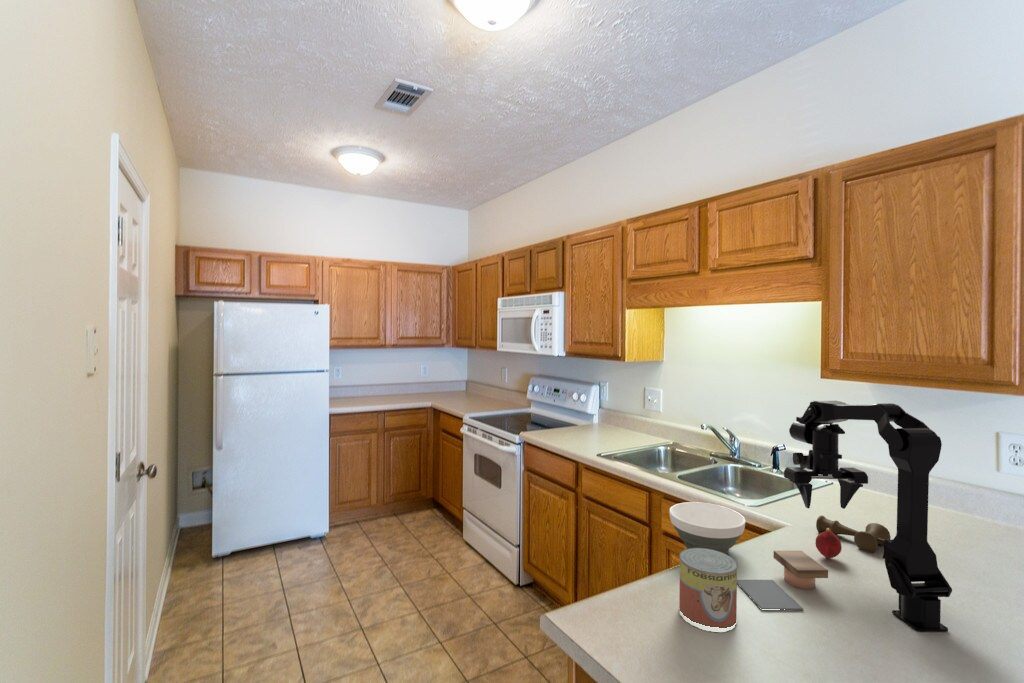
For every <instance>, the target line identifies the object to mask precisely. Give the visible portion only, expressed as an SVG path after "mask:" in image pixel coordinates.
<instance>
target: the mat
mask: <svg viewBox="0 0 1024 683" xmlns="http://www.w3.org/2000/svg"><path fill="white" fill-rule="evenodd" d="M738 585H740V586H741V588H742V589H743V590H744V591H745V592H746V593H747V594H746V593H745V592H744V591H743V590H742V589H741V588H740V589H741V590H742V591H743V592H744V593H745V594H746V596H748V595H749V596H750V597H751V598H752V600H754V602H755V603H756V604H757V605H758V606H759V607H760V608H761V609H780V610H784V609H785V610H803V611H804V607H802V606H801V605H800V604H799V603H798V602H797V601H796V600H795V599H794V598H793V597H792V596H791V595H790V594H788V593H787V592H786V591H785V589H783V588H782V587H781V586H780V585H779V584H778V583H776V581H774V580H773V579H737V586H738ZM749 596H748V597H749ZM752 600H751V601H752ZM754 602H753V603H754ZM755 603H754V604H755ZM756 604H755V605H756ZM757 605H756V606H757ZM758 606H757V607H758ZM759 607H758V608H759ZM760 608H759V609H760Z"/></svg>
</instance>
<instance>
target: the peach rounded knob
mask: <svg viewBox="0 0 1024 683" xmlns="http://www.w3.org/2000/svg"><path fill="white" fill-rule="evenodd" d="M783 580H784V581H785V582H786V583H787V584H788V585H790V586H793V587H796V588H798V589H803V590H808V589H809V590H811V589H814V588H815V587H816V578H797V577H796V576H795V575H793V574H792V573H791V572H790V571H789V570H788V569H786V568H785V567H784V566H783Z"/></svg>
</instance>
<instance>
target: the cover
mask: <svg viewBox="0 0 1024 683" xmlns="http://www.w3.org/2000/svg"><path fill="white" fill-rule="evenodd" d="M772 557H773V559H774V560H776V561H777V562H778V563H779V564H781V566H783V568H784V567H785V568H786V569H788V570H789V571H790V572H791V573H792V574H793V575H795V576H796V577H797V578H815V579H829V570H828V568H826V567H825V566H823V565H822V564H820V563H819V562H818V561H817V560H815V559H813V558H812V557H811V556H809V555H808V554H807V553H805V552H804V551H803V550H773V556H772Z"/></svg>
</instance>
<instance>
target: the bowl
mask: <svg viewBox="0 0 1024 683" xmlns="http://www.w3.org/2000/svg"><path fill="white" fill-rule="evenodd" d="M669 519H670V522H671V524H672V526H673V527H674V530H675V531H676V532H677V534H678V537H679V538H680V539H681V540H682V541H683V544H684V546H685V548H686V549H689V548H707V549H712V550H716V551H719V552H722V553H725V554H727V555H728V553H729V551H730V549H731V548H732V547H734V546H735V545H736V542H737V541H738V540H739V539H740V538H741V536H742V534H743V533H744V531H745V527H746V518H745V516H743V515H742V514H741V513H739V512H738V511H736V510H734V509H732V508H729V507H726V506H723V505H719V504H715V503H714V504H713V503H709V502H701V501H700V502H699V501H697V502H696V501H689V502H688V501H686V502H681V503H676V504H674V505H672V506H671V507H669Z"/></svg>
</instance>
